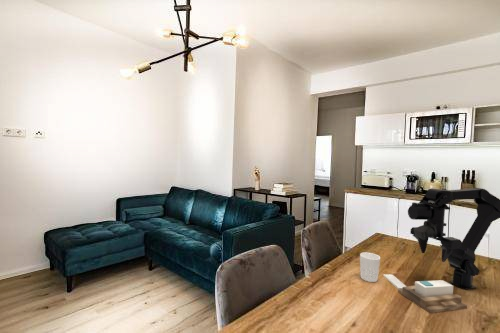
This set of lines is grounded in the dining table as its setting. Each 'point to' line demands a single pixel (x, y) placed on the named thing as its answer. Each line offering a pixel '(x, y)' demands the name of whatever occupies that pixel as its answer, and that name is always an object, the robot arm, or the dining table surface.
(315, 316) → the dining table surface
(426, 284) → the white box
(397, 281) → the strip
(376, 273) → the white cup
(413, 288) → the cradle
